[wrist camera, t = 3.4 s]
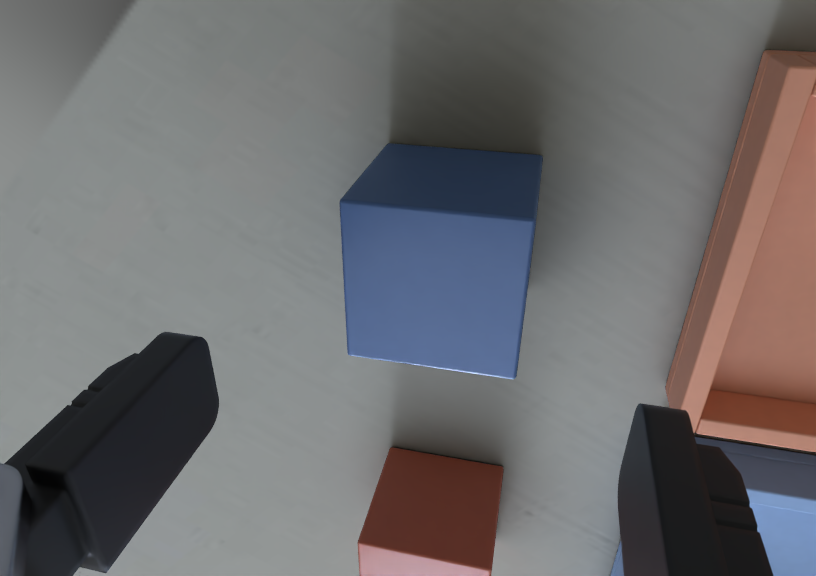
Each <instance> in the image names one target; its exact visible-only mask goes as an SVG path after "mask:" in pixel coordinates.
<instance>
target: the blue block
mask: <svg viewBox="0 0 816 576" xmlns="http://www.w3.org/2000/svg"><path fill="white" fill-rule="evenodd" d="M542 162H543V157H542V156H541V155H532V154H520V153H507V152H494V151H481V150H468V149H455V148H442V147H430V146H417V145H404V144H391V143H389V144H387V145H386V146H385V147H384V149H383V150H382V151H381V152H380V153H379V154H378V156H377V157H376V158H375V159H374V160H373V162H372V163H371V164H370V165H369V166H368V168H367V169H366V170H365V171H364V172H363V173H362V175H361V176H360V177H359V178H358V179H357V181H356V182H355V183H354V184H353V185H352V187H351V188H350V189H349V190H348V191H347V192H346V194H345V195H344V196H343V197H342V198H341V200H340V218H341V237H342V256H343V274H344V293H345V312H346V330H347V349H348V355H351V356H357V357H364V358H371V359H378V360H385V361H391V362H398V363H405V364H412V365H419V366H425V367H432V368H439V369H446V370H453V371H459V372H466V373H473V374H480V375H487V376H493V377H500V378H507V379H515V378H516V376H517V368H518V360H519V352H520V344H521V336H522V329H523V321H524V313H525V305H526V297H527V289H528V282H529V274H530V266H531V258H532V250H533V242H534V235H535V227H536V218H537V209H538V200H539V190H540V181H541V171H542Z"/></svg>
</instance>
